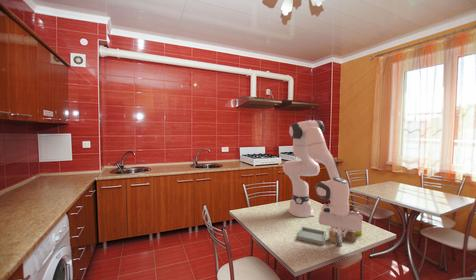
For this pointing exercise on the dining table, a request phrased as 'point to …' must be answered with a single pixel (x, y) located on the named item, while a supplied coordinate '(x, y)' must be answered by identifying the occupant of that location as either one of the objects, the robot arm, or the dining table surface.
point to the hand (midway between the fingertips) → (339, 235)
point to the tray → (311, 235)
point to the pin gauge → (339, 236)
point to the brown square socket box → (349, 235)
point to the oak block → (332, 236)
